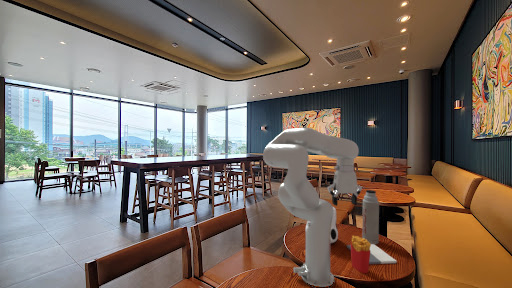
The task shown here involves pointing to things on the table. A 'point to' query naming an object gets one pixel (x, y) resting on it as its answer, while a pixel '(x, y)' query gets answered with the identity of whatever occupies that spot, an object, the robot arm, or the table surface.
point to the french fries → (360, 254)
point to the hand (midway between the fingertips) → (344, 204)
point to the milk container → (333, 228)
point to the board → (378, 255)
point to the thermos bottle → (370, 217)
